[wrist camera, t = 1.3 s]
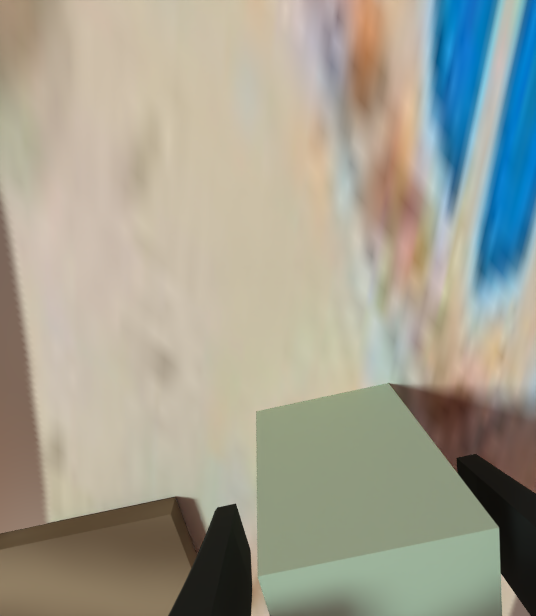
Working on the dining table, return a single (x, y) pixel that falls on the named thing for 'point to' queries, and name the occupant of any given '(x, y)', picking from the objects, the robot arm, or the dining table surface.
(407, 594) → the sage block
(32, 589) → the walnut base board
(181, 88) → the dining table surface
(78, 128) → the dining table surface
